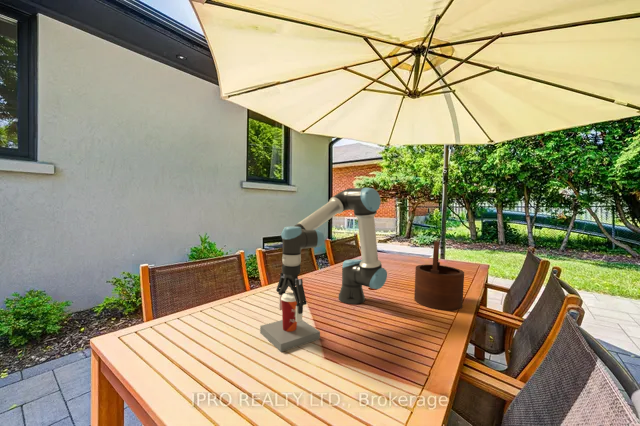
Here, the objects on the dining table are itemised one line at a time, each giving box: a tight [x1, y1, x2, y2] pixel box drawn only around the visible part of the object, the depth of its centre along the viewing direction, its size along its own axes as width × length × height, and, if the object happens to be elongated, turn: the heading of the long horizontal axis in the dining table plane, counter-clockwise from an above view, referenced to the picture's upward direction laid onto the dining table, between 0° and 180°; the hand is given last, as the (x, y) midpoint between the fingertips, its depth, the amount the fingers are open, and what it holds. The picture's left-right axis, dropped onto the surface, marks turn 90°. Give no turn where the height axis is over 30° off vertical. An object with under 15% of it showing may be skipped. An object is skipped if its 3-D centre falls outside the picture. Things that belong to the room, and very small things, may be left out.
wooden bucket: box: [413, 241, 465, 312], centre depth 159 cm, size 26×26×35 cm
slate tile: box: [259, 319, 321, 353], centre depth 114 cm, size 18×18×3 cm
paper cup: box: [281, 292, 297, 332], centre depth 114 cm, size 8×8×14 cm
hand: (290, 315), depth 114 cm, fingers open, 13 cm apart
